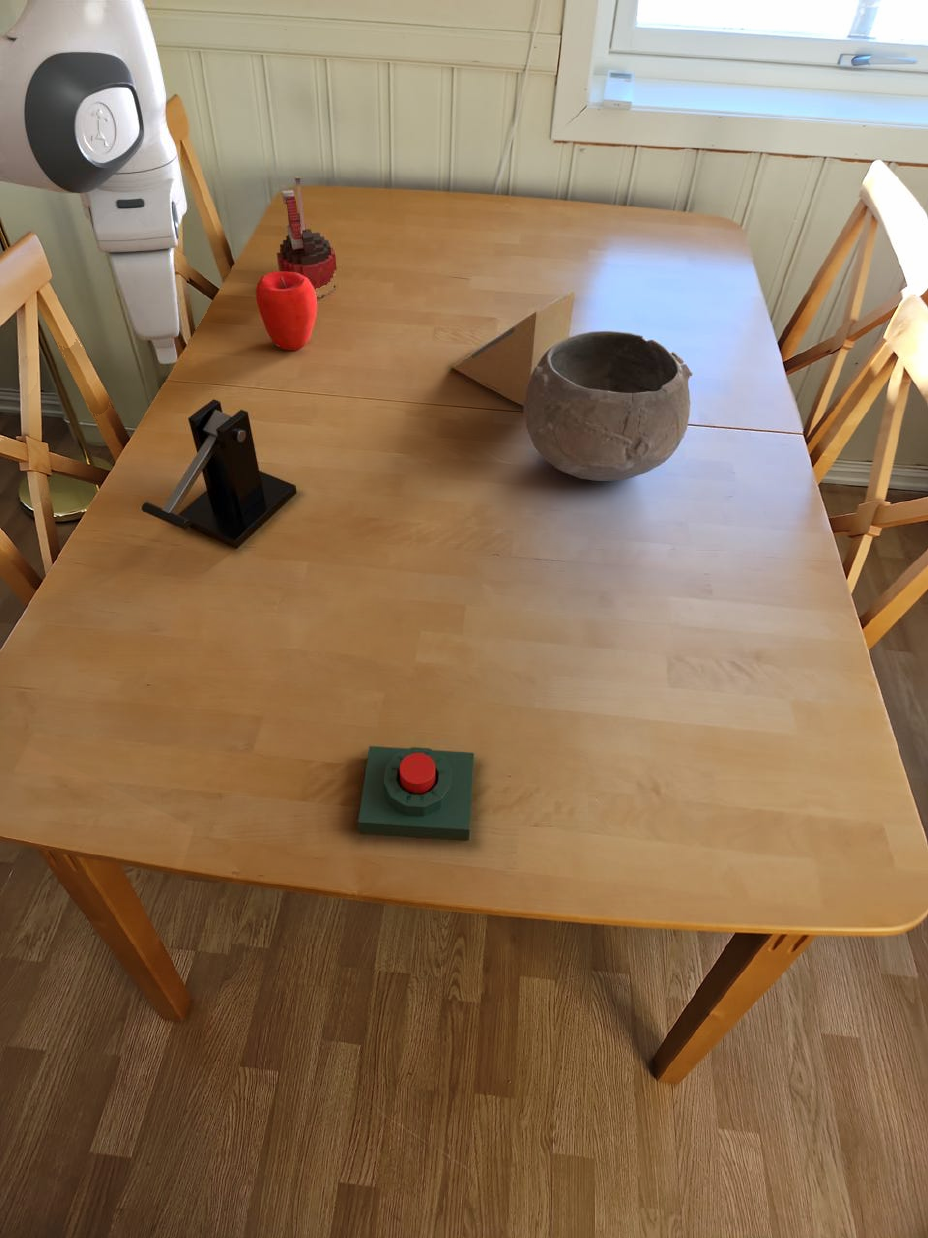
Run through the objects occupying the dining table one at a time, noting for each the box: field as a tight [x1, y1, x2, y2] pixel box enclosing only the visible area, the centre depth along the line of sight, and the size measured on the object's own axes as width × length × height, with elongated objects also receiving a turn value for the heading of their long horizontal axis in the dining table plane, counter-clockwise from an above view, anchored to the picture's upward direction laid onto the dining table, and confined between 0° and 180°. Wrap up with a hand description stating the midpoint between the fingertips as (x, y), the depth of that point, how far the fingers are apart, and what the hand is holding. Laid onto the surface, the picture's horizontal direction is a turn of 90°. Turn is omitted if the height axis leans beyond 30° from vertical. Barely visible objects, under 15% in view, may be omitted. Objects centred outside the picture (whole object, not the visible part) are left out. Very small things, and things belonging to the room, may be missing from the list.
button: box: [400, 753, 435, 794], centre depth 74 cm, size 3×3×2 cm
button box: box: [357, 745, 475, 842], centre depth 76 cm, size 10×8×4 cm
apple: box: [255, 270, 318, 351], centre depth 125 cm, size 9×9×11 cm
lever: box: [141, 410, 232, 531], centre depth 93 cm, size 14×6×2 cm, turn 151°
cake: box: [276, 175, 339, 298], centre depth 134 cm, size 11×9×18 cm
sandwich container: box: [452, 290, 576, 407], centre depth 119 cm, size 9×15×15 cm, turn 47°
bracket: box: [177, 398, 298, 549], centre depth 98 cm, size 12×9×14 cm
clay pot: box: [523, 330, 693, 482], centre depth 107 cm, size 21×21×15 cm
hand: (166, 335), depth 83 cm, fingers open, 8 cm apart
